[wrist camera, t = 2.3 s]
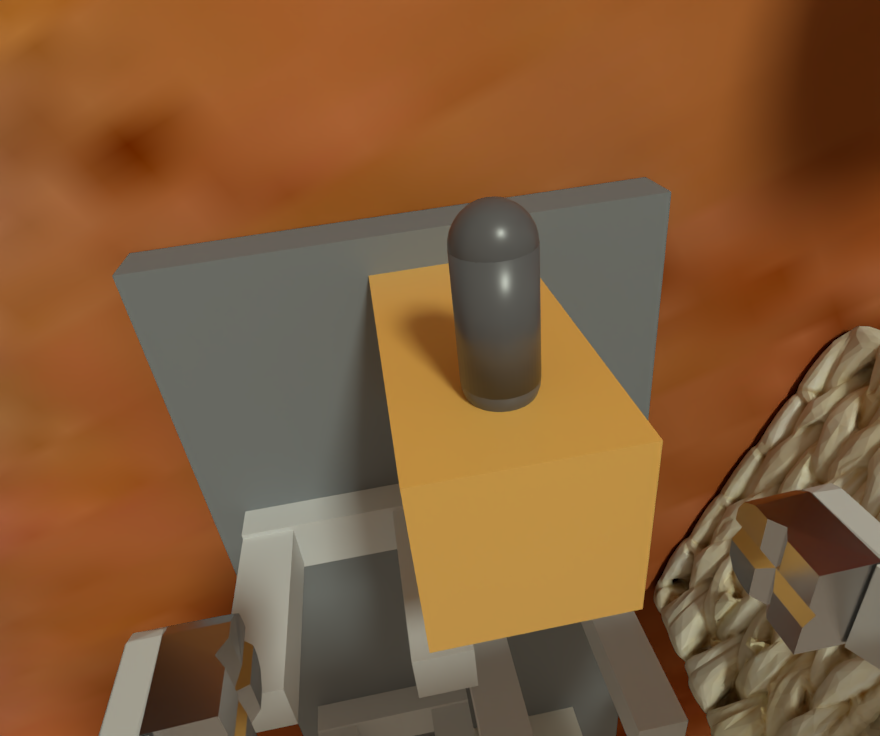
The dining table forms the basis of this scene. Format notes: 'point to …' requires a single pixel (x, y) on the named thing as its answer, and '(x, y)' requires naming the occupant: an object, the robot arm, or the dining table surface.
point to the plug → (510, 442)
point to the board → (383, 467)
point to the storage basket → (743, 617)
